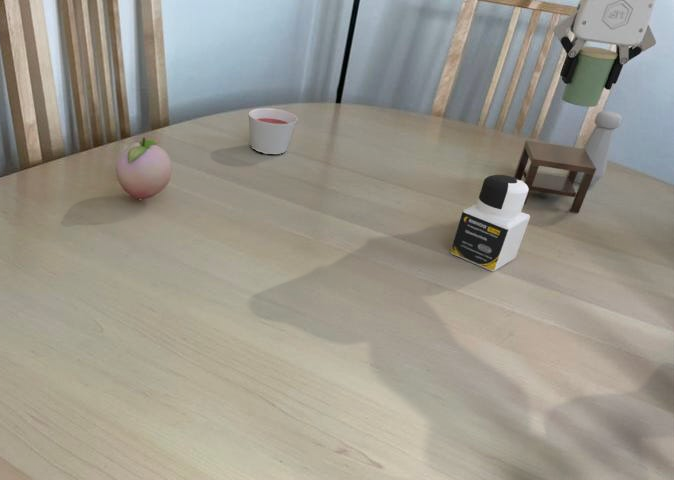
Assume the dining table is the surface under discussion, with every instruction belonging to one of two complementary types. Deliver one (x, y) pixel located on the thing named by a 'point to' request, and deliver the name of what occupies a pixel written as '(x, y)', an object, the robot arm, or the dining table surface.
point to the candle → (271, 129)
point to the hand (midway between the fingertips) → (585, 83)
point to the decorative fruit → (143, 169)
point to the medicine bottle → (493, 224)
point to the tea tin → (589, 76)
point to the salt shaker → (600, 143)
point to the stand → (558, 159)
